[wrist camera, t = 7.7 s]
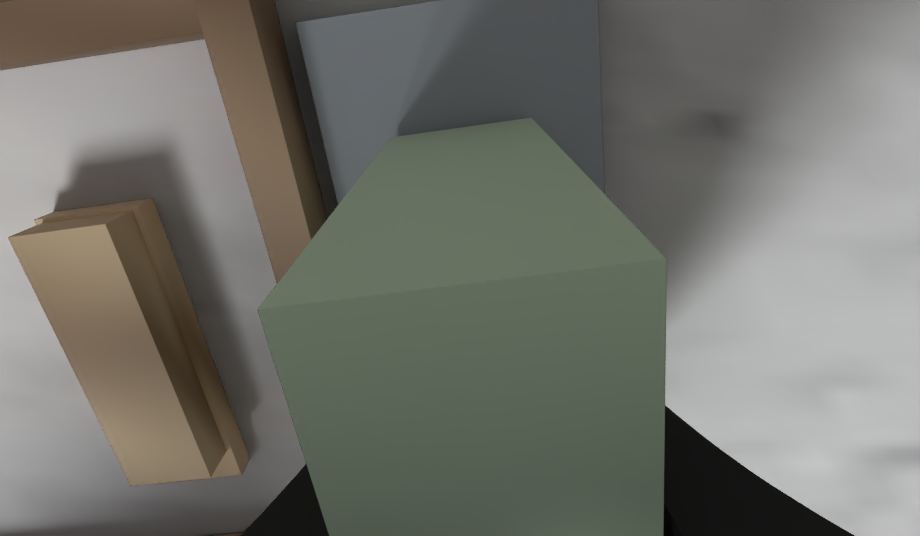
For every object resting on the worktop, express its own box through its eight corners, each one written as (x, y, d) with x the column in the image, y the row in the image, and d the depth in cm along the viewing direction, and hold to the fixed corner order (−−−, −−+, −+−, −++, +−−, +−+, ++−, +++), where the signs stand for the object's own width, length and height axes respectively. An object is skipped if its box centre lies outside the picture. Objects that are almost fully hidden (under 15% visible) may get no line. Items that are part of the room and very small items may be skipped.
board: (559, 453, 15) (659, 871, 7) (450, 465, 15) (440, 885, 7) (531, 118, 11) (666, 259, 4) (390, 137, 11) (257, 309, 4)
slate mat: (610, 495, 16) (615, 511, 16) (415, 515, 17) (413, 531, 16) (590, -21, 11) (597, -25, 10) (304, 24, 11) (295, 22, 11)
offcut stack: (254, 450, 16) (227, 502, 14) (175, 459, 16) (137, 511, 14) (160, 194, 13) (110, 218, 11) (63, 207, 13) (-1, 233, 11)
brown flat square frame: (405, 539, 17) (400, 583, 16) (-38, 583, 18) (-81, 628, 16) (267, -27, 11) (238, -37, 10) (-397, 80, 12) (-513, 84, 10)
